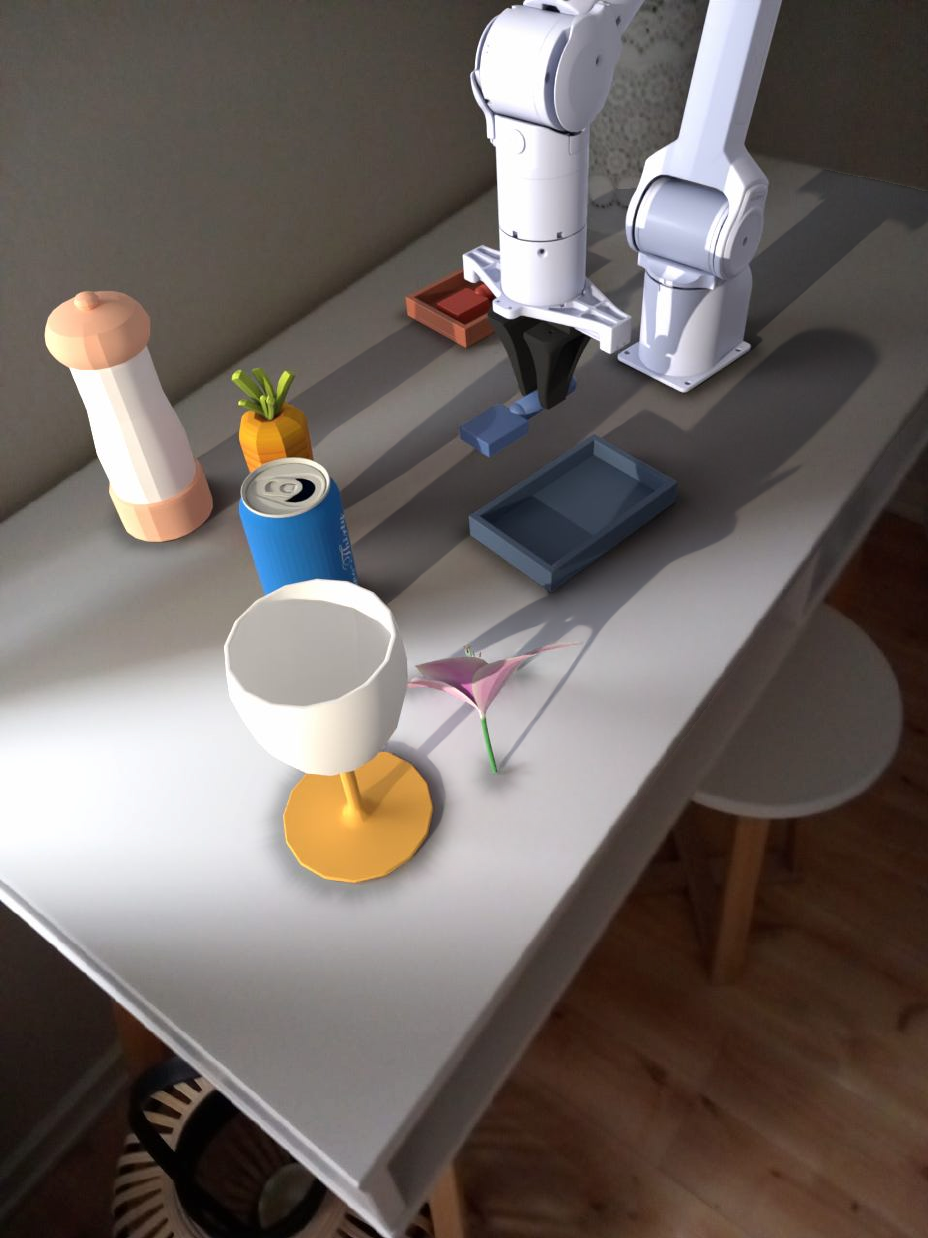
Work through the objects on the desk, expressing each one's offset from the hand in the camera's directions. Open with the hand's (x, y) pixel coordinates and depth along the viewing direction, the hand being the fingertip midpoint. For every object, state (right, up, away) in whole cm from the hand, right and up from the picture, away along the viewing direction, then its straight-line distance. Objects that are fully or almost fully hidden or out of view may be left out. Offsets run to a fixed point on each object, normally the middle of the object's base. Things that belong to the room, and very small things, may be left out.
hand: (543, 396), depth 73 cm
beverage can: (-16, -17, -3) cm, 23 cm away
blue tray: (+2, -9, +2) cm, 9 cm away
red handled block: (-4, +15, +23) cm, 28 cm away
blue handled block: (-1, -2, 0) cm, 2 cm away
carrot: (-19, -10, +3) cm, 22 cm away
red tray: (-4, +15, +24) cm, 28 cm away
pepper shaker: (-30, -8, +6) cm, 31 cm away
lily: (-5, -23, -10) cm, 26 cm away
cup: (-12, -29, -14) cm, 34 cm away
